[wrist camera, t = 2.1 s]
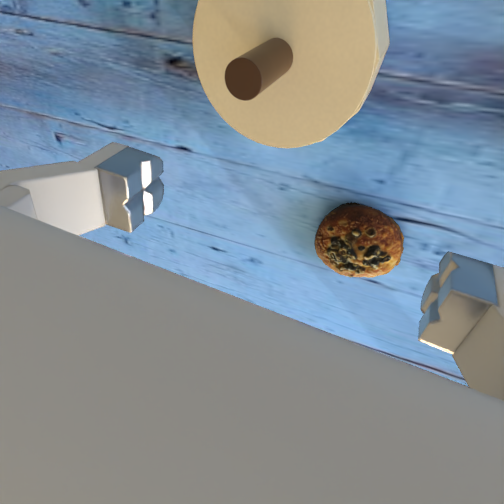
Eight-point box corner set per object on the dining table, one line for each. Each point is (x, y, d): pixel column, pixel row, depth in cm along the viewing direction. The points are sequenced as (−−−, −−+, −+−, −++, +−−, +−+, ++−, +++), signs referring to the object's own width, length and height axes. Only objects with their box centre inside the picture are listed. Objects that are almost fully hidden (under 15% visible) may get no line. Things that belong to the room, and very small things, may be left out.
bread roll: (365, 184, 46) (360, 211, 42) (424, 243, 49) (423, 272, 45) (299, 226, 53) (290, 252, 50) (354, 275, 56) (349, 302, 53)
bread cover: (305, -120, 32) (229, -146, 22) (425, 44, 36) (411, 90, 25) (197, 38, 43) (113, 71, 33) (297, 151, 47) (250, 215, 36)
